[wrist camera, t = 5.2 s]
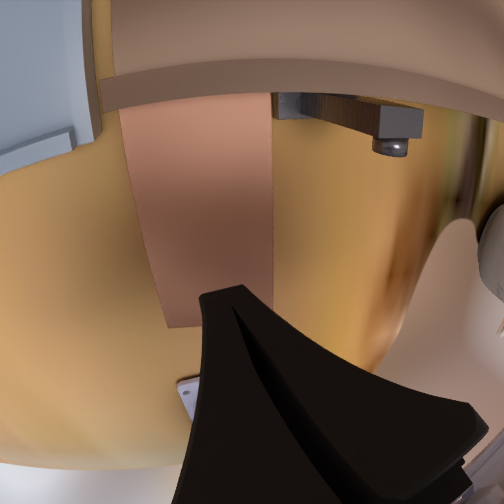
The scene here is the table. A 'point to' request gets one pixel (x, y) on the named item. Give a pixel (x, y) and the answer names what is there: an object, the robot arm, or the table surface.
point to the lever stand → (356, 117)
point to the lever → (265, 111)
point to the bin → (45, 80)
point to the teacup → (493, 253)
